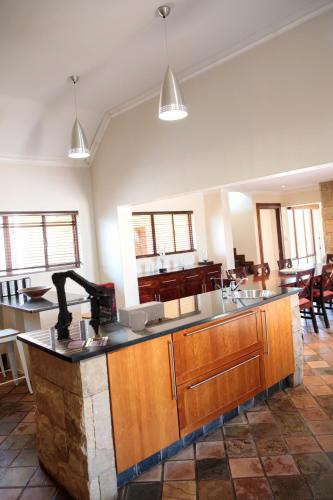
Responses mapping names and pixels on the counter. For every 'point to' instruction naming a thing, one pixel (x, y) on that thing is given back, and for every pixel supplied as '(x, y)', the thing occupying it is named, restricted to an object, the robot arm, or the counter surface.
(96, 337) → the stamp
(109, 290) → the graphics card box
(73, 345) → the ink pad
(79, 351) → the counter surface
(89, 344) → the sheet
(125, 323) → the light grey long box
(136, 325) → the mug
